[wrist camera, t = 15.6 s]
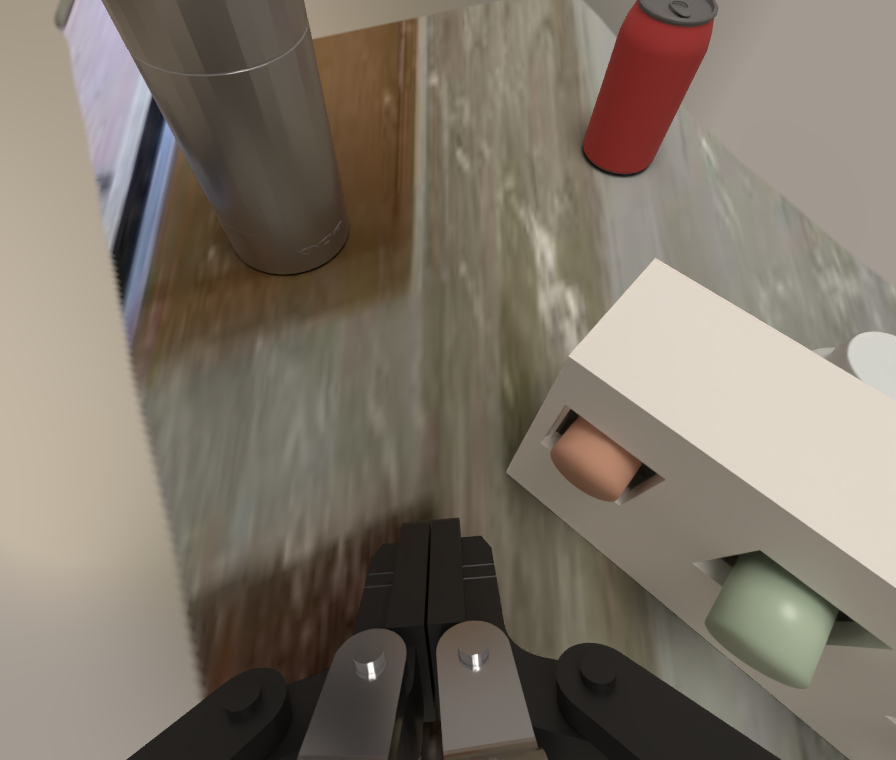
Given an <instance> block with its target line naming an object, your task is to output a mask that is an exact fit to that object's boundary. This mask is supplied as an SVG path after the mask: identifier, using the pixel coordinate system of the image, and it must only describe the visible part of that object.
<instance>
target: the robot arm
mask: <svg viewBox="0 0 896 760" xmlns="http://www.w3.org/2000/svg"><path fill="white" fill-rule="evenodd" d="M102 2H103V4H104V6H105V8H106V10H107V11H108V13H109V15H110V17H111V19H112V21H113V23H114V25H115V26H116V28H117V30H118V32H119V34H120V36H121V38H122V40H123V41H124V43H125V45H126V47H127V49H128V50H129V52H130V54H131V56H132V58H133V60H134V62H135V63H136V65H137V67H138V69H139V71H140V73H141V75H142V77H143V79H144V80H145V82H146V84H147V86H148V88H149V90H150V92H151V94H152V95H153V97H154V99H155V101H156V103H157V105H158V107H159V109H160V111H161V112H162V114H163V116H164V118H165V120H166V122H167V124H168V126H169V128H170V129H171V131H172V133H173V135H174V137H175V139H176V141H177V143H178V145H179V146H180V148H181V150H182V152H183V154H184V156H185V158H186V160H187V162H188V163H189V165H190V167H191V169H192V171H193V173H194V175H195V177H196V178H197V180H198V182H199V184H200V186H201V188H202V190H203V192H204V194H205V195H206V197H207V199H208V201H209V203H210V205H211V207H212V209H213V211H214V213H215V215H216V217H217V219H218V220H219V222H220V224H221V226H222V228H223V230H224V232H225V234H226V235H227V237H228V239H229V241H230V243H231V245H232V247H233V249H234V250H235V252H236V253H237V255H238V256H239V258H240V259H241V260H243V261H244V262H245V263H246V264H247V265H249V266H251V267H253V268H255V269H257V270H260V271H263V272H267V273H273V274H295V273H300V272H305V271H308V270H311V269H314V268H316V267H319V266H321V265H322V264H324V263H326V262H327V261H329V260H330V259H332V258H333V257H334V256H335V255H336V254H337V253H338V252H339V251H340V250H341V248H342V247H343V246H344V244H345V242H346V239H347V237H348V233H349V222H348V216H347V211H346V206H345V201H344V196H343V191H342V186H341V180H340V175H339V170H338V165H337V160H336V155H335V150H334V145H333V140H332V135H331V130H330V125H329V120H328V115H327V111H326V106H325V101H324V96H323V91H322V86H321V81H320V76H319V71H318V66H317V61H316V56H315V51H314V46H313V41H312V37H311V32H310V27H309V22H308V18H307V13H306V8H305V3H304V0H102ZM436 700H437V709H438V717H439V721H441V727H442V741H443V755H444V760H781V759H779V758H778V757H776V756H775V755H773V754H772V753H770V752H769V751H767V750H766V749H764V748H763V747H761V746H760V745H758V744H757V743H755V742H754V741H752V740H751V739H749V738H748V737H746V736H745V735H743V734H742V733H740V732H739V731H737V730H736V729H734V728H733V727H731V726H730V725H728V724H727V723H725V722H724V721H722V720H721V719H719V718H718V717H716V716H715V715H713V714H712V713H710V712H709V711H707V710H706V709H704V708H703V707H701V706H700V705H698V704H697V703H695V702H694V701H692V700H691V699H689V698H688V697H686V696H685V695H683V694H682V693H680V692H679V691H677V690H676V689H674V688H673V687H671V686H670V685H668V684H667V683H665V682H664V681H662V680H661V679H659V678H658V677H656V676H655V675H653V674H652V673H650V672H649V671H647V670H646V669H644V668H643V667H641V666H640V665H638V664H637V663H635V662H634V661H632V660H631V659H629V658H628V657H626V656H625V655H623V654H622V653H620V652H618V651H617V650H615V649H613V648H611V647H608V646H605V645H602V644H596V643H582V644H578V645H574V646H572V647H570V648H568V649H567V650H566V651H564V653H563V654H562V655H561V656H560V658H559V660H554V659H549V658H544V657H540V656H537V655H533V654H531V653H529V652H526V651H525V650H523V649H521V648H520V647H519V646H517V645H516V644H515V643H514V642H513V641H512V640H511V638H510V637H509V635H508V634H507V632H506V629H505V625H504V620H503V614H502V608H501V602H500V596H499V590H498V585H497V579H496V573H495V567H494V561H493V555H492V549H491V547H490V546H489V544H488V543H487V542H486V541H485V540H484V539H483V538H482V536H474V537H462V538H461V530H460V520H459V518H450V519H439V520H432V528H431V522H430V520H428V521H416V522H405V523H402V527H401V533H400V540H399V543H392V544H383V545H382V546H381V547H380V548H379V550H378V551H377V552H376V553H375V555H374V556H373V557H372V559H371V563H370V567H369V571H368V576H367V580H366V584H365V589H364V592H363V596H362V600H361V604H360V609H359V613H358V617H357V621H356V625H355V629H354V633H353V636H352V637H351V638H349V639H348V640H347V641H346V642H344V643H343V644H342V646H341V647H340V648H339V649H338V651H337V652H336V654H335V656H334V658H333V661H332V664H331V666H330V667H329V668H327V669H325V670H324V671H322V672H320V673H318V674H315V675H313V676H310V677H308V678H305V679H302V680H300V681H297V682H294V683H291V684H289V685H286V681H285V679H284V677H283V676H282V675H281V673H279V672H278V671H276V670H273V669H269V668H257V669H252V670H249V671H246V672H243V673H241V674H239V675H237V676H235V677H233V678H232V679H230V680H229V681H227V682H226V683H225V684H223V685H222V686H221V687H219V688H218V689H217V690H216V691H214V692H213V693H212V694H210V695H209V696H208V697H207V698H205V699H204V700H203V701H201V702H200V703H199V704H198V705H196V706H195V707H194V708H192V709H191V710H190V711H189V712H187V713H186V714H185V715H184V716H182V717H181V718H180V719H178V720H177V721H176V722H174V723H173V724H172V725H170V726H169V727H168V728H167V729H165V730H164V731H163V732H162V733H160V734H159V735H158V736H156V737H155V738H154V739H152V740H151V741H150V742H149V743H147V744H146V745H145V746H143V747H142V748H141V749H140V750H138V751H137V752H136V753H134V754H133V755H132V756H131V757H129V758H128V759H127V760H421V751H422V739H423V722H432V721H436Z"/></svg>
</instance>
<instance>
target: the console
mask: <svg viewBox="0 0 896 760" xmlns="http://www.w3.org/2000/svg"><path fill="white" fill-rule="evenodd" d="M579 415H580V416H581V417H583V418H584V419H585V420H587V421H588V422H589V423H591V424H592V425H593V426H595V427H596V428H597V429H599V430H600V431H601V432H603V433H604V434H605V435H607V436H608V437H609V438H611V439H612V440H613V441H615V442H616V443H617V444H619V445H620V446H621V447H623V448H624V449H625V450H627V451H628V452H629V453H631V454H632V455H633V456H635V457H636V458H637V459H639V460H640V461H641V462H643V464H642V465H641V467H640V468H639V470H638V471H637V472H636V474H635V475H634V477H633V478H632V480H631V481H630V483H629V484H628V485H627V487H626V488H625V490H624V491H623V493H622V494H621V496H620V497H619V498H618V500H616V501H613V502H607V501H602V500H599V499H596V498H594V497H592V496H590V495H588V494H586V493H584V492H583V491H581V490H580V489H578V488H577V487H575V486H574V485H573V484H571V483H570V482H569V481H568V480H567V479H566V478H565V477H564V476H563V475H562V474H561V473H560V472H559V471H558V469H557V468H556V467H555V465H554V463H553V462H552V459H551V456H550V452H551V449H552V448H553V447H554V445H555V444H556V443H557V442H558V441H559V439H560V438H561V437H562V436H563V434H564V433H565V432H566V431H567V429H568V428H569V427H570V426H571V424H572V423H573V422H574V421H575V420H576V418H577V417H578V416H579ZM506 473H507V474H508V475H510V476H511V477H512V478H513V479H514V480H515V481H517V482H518V483H519V484H520V485H521V486H523V487H524V488H525V489H526V490H527V491H529V492H530V493H531V494H532V495H533V496H535V497H536V498H537V499H538V500H539V501H541V502H542V503H543V504H544V505H545V506H547V507H548V508H549V509H550V510H551V511H553V512H554V513H555V514H556V515H557V516H559V517H560V518H561V519H562V520H563V521H565V522H566V523H567V524H568V525H569V526H570V527H572V528H573V529H574V530H575V531H576V532H578V533H579V534H580V535H581V536H582V537H584V538H585V539H586V540H587V541H588V542H590V543H591V544H592V545H593V546H594V547H596V548H597V549H598V550H599V551H600V552H602V553H603V554H604V555H605V556H606V557H608V558H609V559H610V560H611V561H612V562H614V563H615V564H616V565H617V566H618V567H620V568H621V569H622V570H623V571H624V572H625V573H627V574H628V575H629V576H630V577H631V578H633V579H634V580H635V581H636V582H637V583H639V584H640V585H641V586H642V587H643V588H645V589H646V590H647V591H648V592H649V593H651V594H652V595H653V596H654V597H655V598H657V599H658V600H659V601H660V602H661V603H663V604H664V605H665V606H666V607H667V608H669V609H670V610H671V611H672V612H673V613H675V614H676V615H677V616H678V617H679V618H680V619H682V620H683V621H684V622H685V623H686V624H688V625H689V626H690V627H691V628H692V629H694V630H695V631H696V632H697V633H698V634H700V635H701V636H702V637H703V638H704V639H706V640H707V641H708V642H709V643H710V644H712V645H713V646H714V647H715V648H716V649H718V650H719V651H720V652H721V653H722V654H724V655H725V656H726V657H727V658H728V659H729V660H731V661H732V662H733V663H734V664H735V665H737V666H738V667H739V668H740V669H741V670H743V671H744V672H745V673H746V674H747V675H749V676H750V677H751V678H752V679H753V680H755V681H756V682H757V683H758V684H759V685H761V686H762V687H763V688H764V689H765V690H767V691H768V692H769V693H770V694H771V695H773V696H774V697H775V698H776V699H777V700H779V701H780V702H781V703H782V704H783V705H784V706H786V707H787V708H788V709H789V710H790V711H792V712H793V713H794V714H795V715H796V716H798V717H799V718H800V719H801V720H802V721H804V722H805V723H806V724H807V725H808V726H810V727H811V728H812V729H813V730H814V731H816V732H817V733H818V734H819V735H820V736H822V737H823V738H824V739H825V740H826V741H828V742H829V743H830V744H831V745H832V746H834V747H835V748H836V749H837V750H838V751H839V752H841V753H842V754H843V755H844V756H845V757H847V758H848V759H849V760H896V401H895V400H893V399H891V398H890V397H888V396H886V395H885V394H883V393H881V392H880V391H878V390H876V389H874V388H873V387H871V386H869V385H868V384H866V383H864V382H863V381H861V380H859V379H858V378H856V377H854V376H853V375H851V374H849V373H848V372H846V371H844V370H843V369H841V368H839V367H837V366H836V365H834V364H832V363H831V362H829V361H827V360H826V359H824V358H822V357H821V356H819V355H817V354H816V353H814V352H812V351H811V350H809V349H807V348H806V347H804V346H802V345H801V344H799V343H797V342H795V341H794V340H792V339H790V338H789V337H787V336H785V335H784V334H782V333H780V332H779V331H777V330H775V329H774V328H772V327H770V326H769V325H767V324H765V323H764V322H762V321H760V320H759V319H757V318H755V317H753V316H752V315H750V314H748V313H747V312H745V311H743V310H742V309H740V308H738V307H737V306H735V305H733V304H732V303H730V302H728V301H727V300H725V299H723V298H722V297H720V296H718V295H716V294H715V293H713V292H711V291H710V290H708V289H706V288H705V287H703V286H701V285H700V284H698V283H696V282H695V281H693V280H691V279H690V278H688V277H686V276H685V275H683V274H681V273H680V272H678V271H676V270H674V269H673V268H671V267H669V266H668V265H666V264H664V263H663V262H661V261H659V260H658V259H656V258H655V259H654V260H653V261H652V262H651V264H650V265H649V266H648V267H647V268H646V269H645V270H644V271H643V273H642V274H641V275H640V276H639V277H638V278H637V279H636V280H635V282H634V283H633V284H632V285H631V286H630V287H629V288H628V290H627V291H626V292H625V293H624V294H623V295H622V296H621V297H620V299H619V300H618V301H617V302H616V303H615V304H614V305H613V306H612V308H611V309H610V310H609V311H608V312H607V313H606V314H605V315H604V317H603V318H602V319H601V320H600V321H599V322H598V323H597V324H596V326H595V327H594V328H593V329H592V330H591V331H590V332H589V334H588V335H587V336H586V337H585V338H584V339H583V340H582V341H581V343H580V344H579V345H578V346H577V347H576V348H575V349H574V350H573V352H572V353H571V354H570V355H569V356H568V358H567V360H566V362H565V363H564V365H563V367H562V369H561V371H560V373H559V375H558V376H557V378H556V380H555V382H554V384H553V386H552V387H551V389H550V391H549V393H548V395H547V397H546V399H545V400H544V402H543V404H542V406H541V408H540V410H539V411H538V413H537V415H536V417H535V419H534V421H533V423H532V424H531V426H530V428H529V430H528V432H527V434H526V435H525V437H524V439H523V441H522V443H521V445H520V447H519V448H518V450H517V452H516V454H515V456H514V458H513V459H512V461H511V463H510V465H509V467H508V469H507V471H506ZM758 550H761V551H762V552H763V553H765V554H766V555H767V556H769V557H770V558H771V559H773V560H774V561H775V562H777V563H778V564H779V565H781V566H782V567H783V568H785V569H786V570H787V571H789V572H790V573H791V574H793V575H794V576H795V577H797V578H798V579H799V580H801V581H802V582H803V583H805V584H806V585H807V586H809V587H810V588H811V589H813V590H814V591H815V592H817V593H818V594H819V595H821V596H822V597H823V598H825V599H826V600H827V601H829V602H830V603H831V604H833V605H834V606H835V607H837V608H838V609H839V612H838V615H837V617H836V620H835V622H834V625H833V627H832V630H831V632H830V635H829V637H828V640H827V642H826V645H825V647H824V650H823V652H822V655H821V657H820V660H819V662H818V665H817V667H816V670H815V672H814V675H813V677H812V680H811V682H810V685H809V687H808V688H806V689H797V688H793V687H790V686H787V685H784V684H782V683H780V682H777V681H775V680H773V679H771V678H769V677H767V676H765V675H764V674H762V673H760V672H758V671H757V670H755V669H753V668H752V667H750V666H748V665H747V664H745V663H744V662H742V661H741V660H740V659H738V658H737V657H736V656H734V655H733V654H732V653H730V652H729V651H728V650H727V649H725V648H724V647H723V646H722V645H721V644H720V643H719V642H718V641H717V640H716V639H715V638H714V637H713V636H712V635H711V634H710V633H709V631H708V630H707V628H706V626H705V619H706V617H707V616H708V614H709V612H710V610H711V608H712V606H713V604H714V602H715V600H716V599H717V597H718V595H719V593H720V591H721V589H722V587H723V585H724V583H725V581H726V580H727V578H728V576H729V574H730V572H731V570H732V568H733V566H734V564H735V562H736V561H737V559H738V557H739V555H740V554H743V553H748V552H753V551H758Z"/></svg>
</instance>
